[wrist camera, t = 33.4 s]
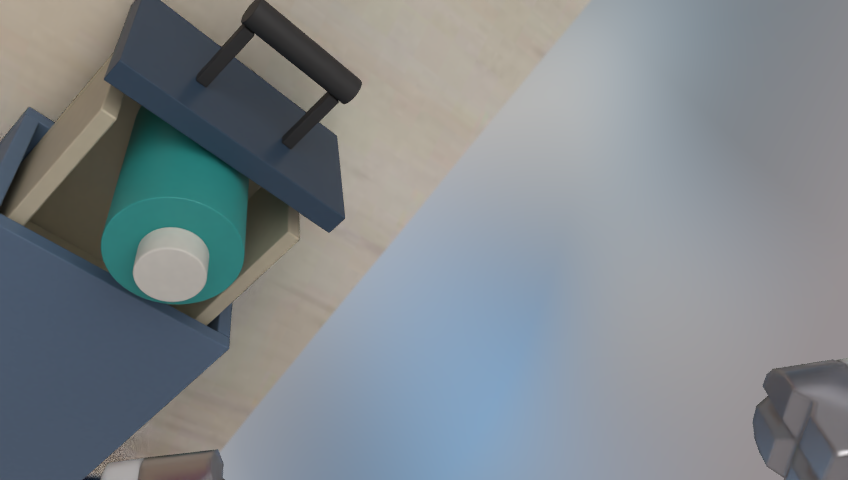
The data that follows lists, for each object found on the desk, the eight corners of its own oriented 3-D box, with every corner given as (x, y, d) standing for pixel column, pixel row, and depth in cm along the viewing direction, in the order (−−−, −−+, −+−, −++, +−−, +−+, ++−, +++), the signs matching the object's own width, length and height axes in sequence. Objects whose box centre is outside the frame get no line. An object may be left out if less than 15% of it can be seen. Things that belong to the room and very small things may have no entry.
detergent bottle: (240, 78, 41) (228, 210, 32) (260, 176, 45) (254, 318, 36) (120, 90, 41) (74, 228, 32) (150, 188, 45) (117, 336, 36)
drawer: (208, -89, 37) (193, -28, 31) (398, 76, 44) (417, 153, 38) (-22, 190, 45) (-70, 283, 39) (170, 296, 51) (155, 391, 45)
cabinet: (29, 106, 43) (-25, 212, 35) (237, 236, 50) (229, 348, 43) (-120, 289, 49) (-193, 414, 41) (85, 383, 56) (54, 504, 48)
